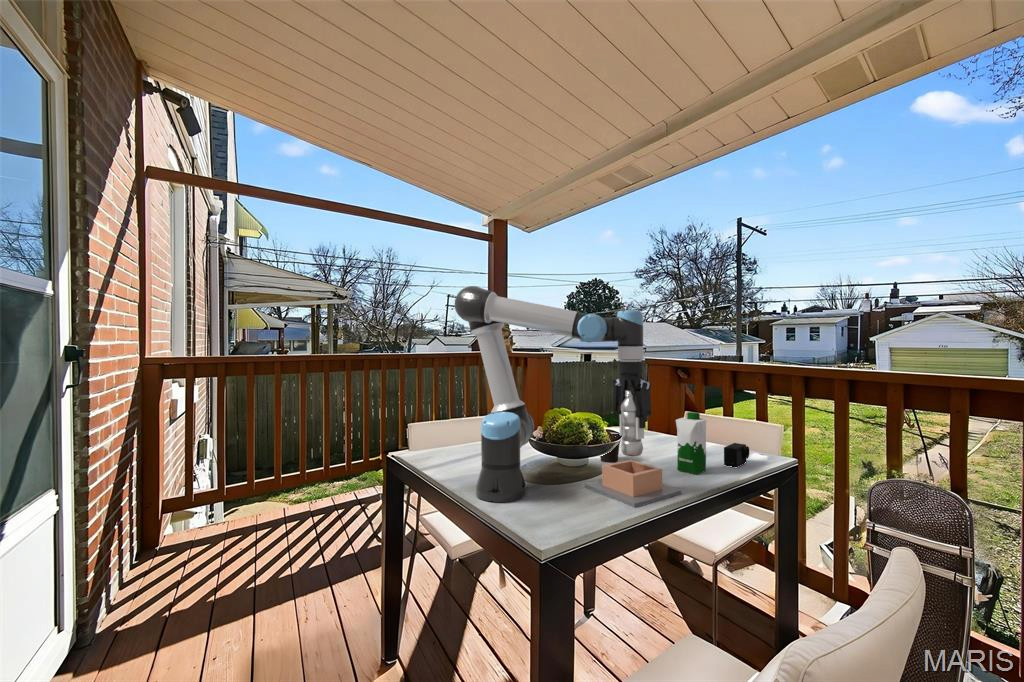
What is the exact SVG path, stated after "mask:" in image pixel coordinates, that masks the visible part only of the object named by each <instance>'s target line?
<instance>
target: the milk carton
mask: <svg viewBox="0 0 1024 682" xmlns="http://www.w3.org/2000/svg"><path fill="white" fill-rule="evenodd" d="M686 413H687V414H686V415H687V416H686V417H680V418H679V417H678V418H677V419H675V425H676V431H677V433H676V437H677V439H676V440H677V441H676V443H677V445H676V447H677V450H676V451H677V452H676V453H677V462H676V463H677V464H676V465H677V467H676V468H677V469H676V471H677V470H681V471H680V472H682V471H685V472H684V473H686V472H689V473H688V474H691V473H693V474H692V475H696V474H697V475H699V473H700V474H702V473H704V472H706V470H707V468H706V467H707V440H706V439H707V437H706V436H707V433H706V432H707V419H704V418H700V412H694V411H693V412H692V411H691V412H690V411H689V412H686ZM703 471H704V472H703ZM701 472H702V473H701Z"/></svg>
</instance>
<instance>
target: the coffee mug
mask: <svg viewBox="0 0 1024 682" xmlns="http://www.w3.org/2000/svg"><path fill="white" fill-rule="evenodd" d="M609 432H610V433H611V434H619V435H620V433H617V432H611V431H609ZM615 437H616V436H615ZM620 446H621V441H620V442H619V444H618V445H617V446H616V447H615V448H614V449H613V450H612V451H611V452H609V453H607V454H605V455H603V456H600V455H599V457H600V462H603V463H607V464H612V463H617V461H618V462H619V453H620V452H619V451H620Z"/></svg>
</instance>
